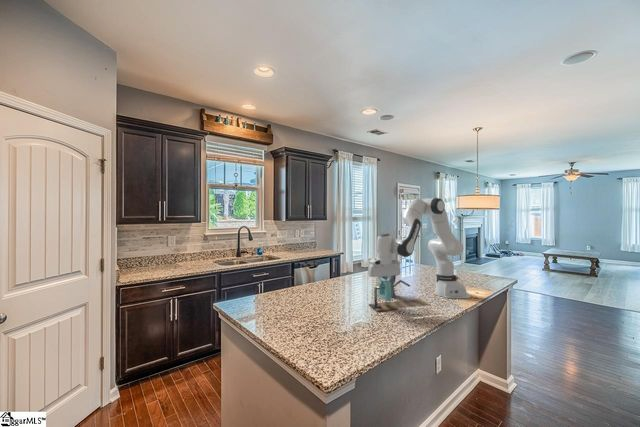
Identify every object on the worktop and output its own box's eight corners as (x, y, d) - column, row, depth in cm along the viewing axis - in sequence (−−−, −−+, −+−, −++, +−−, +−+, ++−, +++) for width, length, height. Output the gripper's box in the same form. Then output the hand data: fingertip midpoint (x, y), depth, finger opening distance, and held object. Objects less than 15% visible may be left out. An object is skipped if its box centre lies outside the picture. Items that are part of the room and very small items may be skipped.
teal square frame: (382, 295, 175) (382, 278, 176) (391, 300, 165) (391, 282, 165) (378, 296, 175) (378, 278, 175) (386, 301, 164) (386, 282, 164)
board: (419, 300, 182) (419, 299, 182) (431, 306, 171) (431, 304, 171) (368, 305, 174) (368, 303, 174) (377, 312, 162) (377, 310, 162)
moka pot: (376, 297, 190) (376, 268, 190) (389, 293, 201) (389, 265, 201) (388, 300, 183) (388, 270, 183) (401, 295, 194) (401, 267, 194)
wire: (407, 302, 176) (407, 278, 176) (412, 304, 172) (412, 280, 172) (370, 305, 170) (369, 281, 170) (373, 308, 165) (373, 283, 165)
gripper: (397, 259, 175) (397, 280, 175) (366, 260, 171) (367, 283, 170) (402, 260, 169) (402, 283, 169) (371, 262, 164) (371, 285, 164)
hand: (384, 283), depth 170 cm, fingers closed on teal square frame, 3 cm apart
